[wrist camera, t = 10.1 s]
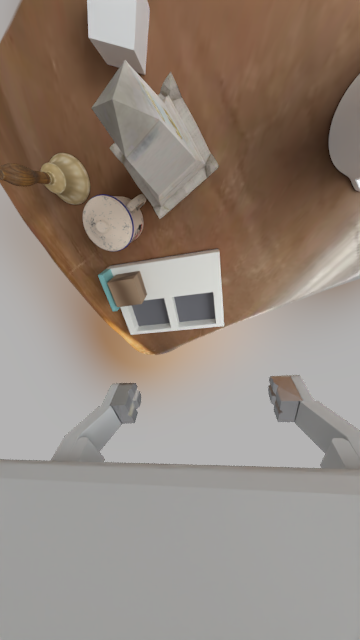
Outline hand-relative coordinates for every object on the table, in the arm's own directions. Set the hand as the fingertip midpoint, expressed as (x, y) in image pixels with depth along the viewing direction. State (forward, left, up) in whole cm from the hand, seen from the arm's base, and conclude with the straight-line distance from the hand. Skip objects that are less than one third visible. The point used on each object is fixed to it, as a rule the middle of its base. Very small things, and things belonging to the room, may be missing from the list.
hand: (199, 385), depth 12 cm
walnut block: (+17, +5, -34) cm, 38 cm away
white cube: (+7, -31, -37) cm, 49 cm away
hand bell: (+24, -17, -37) cm, 48 cm away
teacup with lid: (+14, -9, -37) cm, 41 cm away
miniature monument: (+3, -15, -37) cm, 40 cm away
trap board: (+9, +10, -37) cm, 39 cm away
